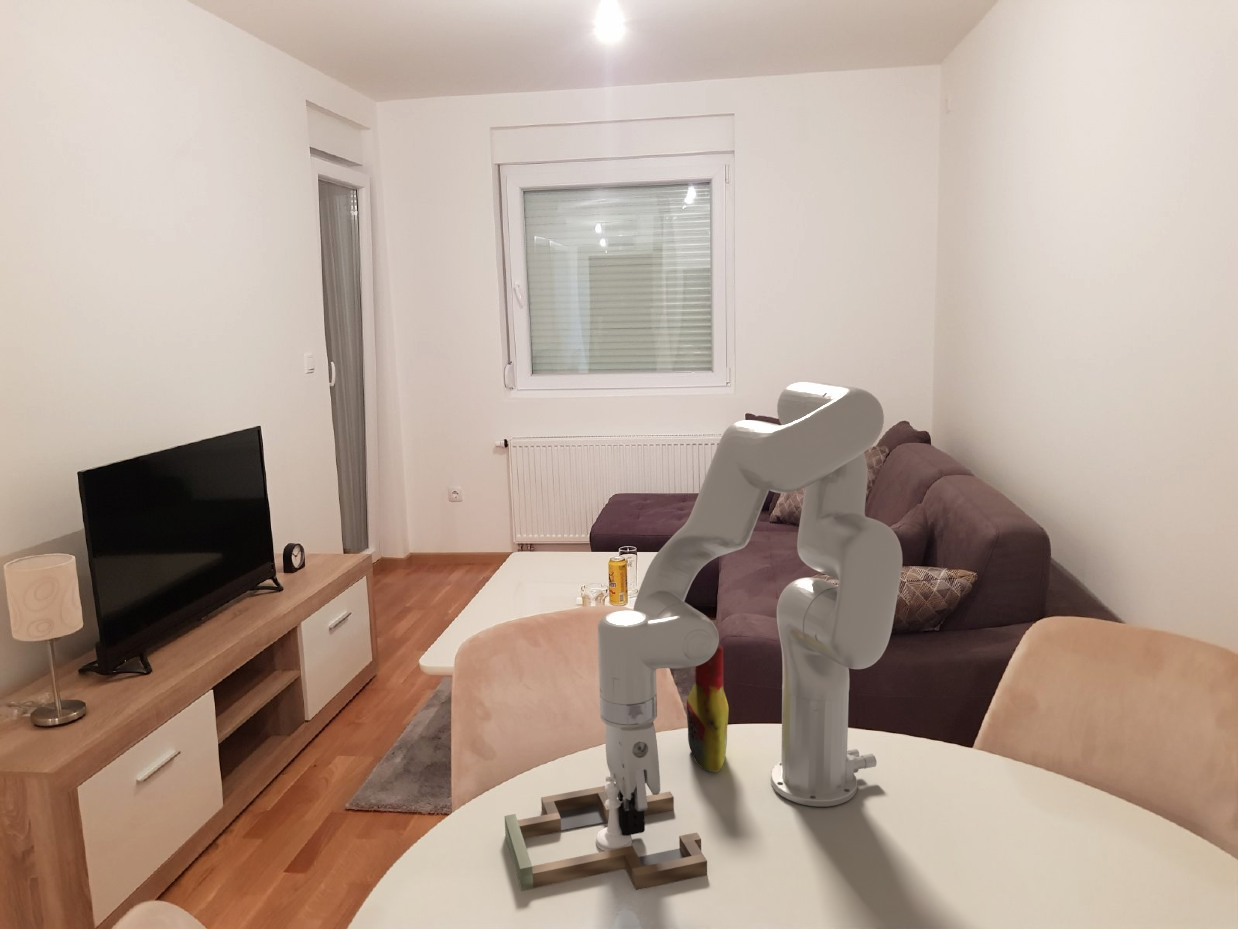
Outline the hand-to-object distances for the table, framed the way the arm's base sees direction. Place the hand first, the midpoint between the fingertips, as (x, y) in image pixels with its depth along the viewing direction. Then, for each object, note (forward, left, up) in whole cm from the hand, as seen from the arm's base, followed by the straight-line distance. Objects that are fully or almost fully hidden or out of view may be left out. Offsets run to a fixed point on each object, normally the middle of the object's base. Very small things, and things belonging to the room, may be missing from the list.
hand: (631, 830), depth 120 cm
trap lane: (+4, 0, -1) cm, 4 cm away
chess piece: (+3, 0, -1) cm, 3 cm away
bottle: (-18, -16, -1) cm, 24 cm away
